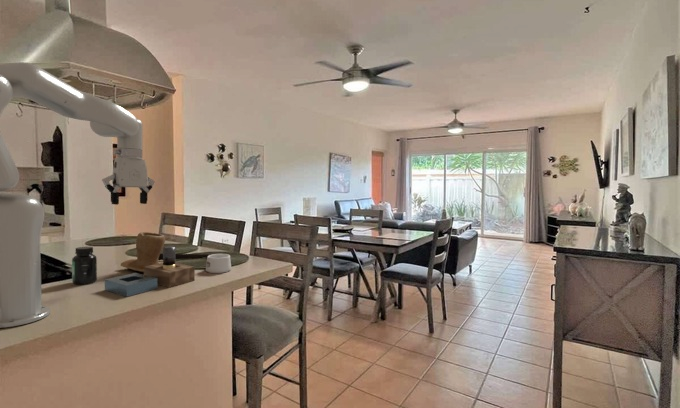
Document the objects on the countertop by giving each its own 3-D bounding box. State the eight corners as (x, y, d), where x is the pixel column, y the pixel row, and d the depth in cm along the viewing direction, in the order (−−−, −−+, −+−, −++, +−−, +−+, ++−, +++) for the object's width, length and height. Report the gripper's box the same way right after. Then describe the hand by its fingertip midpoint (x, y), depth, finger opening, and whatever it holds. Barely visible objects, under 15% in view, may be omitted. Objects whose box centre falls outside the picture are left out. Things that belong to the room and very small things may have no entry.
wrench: (212, 263, 161) (137, 264, 146) (210, 261, 165) (137, 262, 150) (213, 252, 161) (138, 252, 146) (211, 250, 166) (138, 250, 150)
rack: (169, 287, 118) (169, 272, 118) (143, 280, 125) (143, 266, 124) (194, 280, 127) (194, 266, 126) (169, 274, 133) (169, 261, 133)
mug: (235, 271, 142) (235, 256, 141) (212, 275, 135) (212, 259, 134) (221, 265, 150) (221, 251, 150) (198, 269, 143) (198, 254, 143)
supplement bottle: (69, 286, 116) (69, 250, 115) (75, 280, 122) (74, 246, 122) (94, 284, 119) (94, 249, 118) (98, 278, 125) (98, 245, 125)
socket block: (126, 296, 108) (126, 285, 107) (104, 290, 113) (104, 279, 113) (157, 288, 116) (157, 278, 116) (135, 282, 122) (135, 272, 122)
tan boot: (171, 269, 141) (171, 232, 140) (141, 276, 130) (141, 236, 129) (149, 264, 148) (148, 228, 147) (119, 269, 138) (119, 231, 137)
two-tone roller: (167, 282, 123) (167, 248, 122) (160, 281, 125) (160, 247, 124) (177, 280, 126) (177, 247, 126) (170, 278, 128) (170, 245, 128)
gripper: (109, 151, 113) (109, 205, 114) (160, 156, 128) (159, 204, 129) (97, 152, 117) (96, 204, 117) (147, 157, 131) (147, 202, 132)
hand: (129, 203), depth 123 cm, fingers open, 9 cm apart
